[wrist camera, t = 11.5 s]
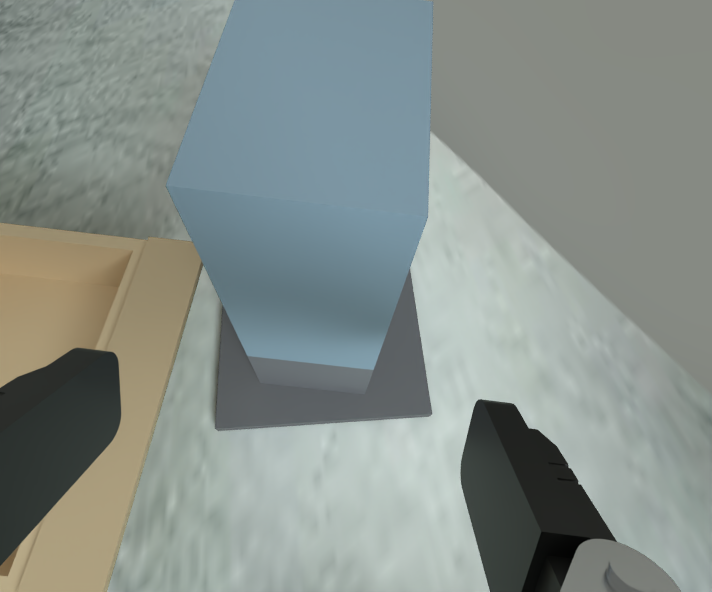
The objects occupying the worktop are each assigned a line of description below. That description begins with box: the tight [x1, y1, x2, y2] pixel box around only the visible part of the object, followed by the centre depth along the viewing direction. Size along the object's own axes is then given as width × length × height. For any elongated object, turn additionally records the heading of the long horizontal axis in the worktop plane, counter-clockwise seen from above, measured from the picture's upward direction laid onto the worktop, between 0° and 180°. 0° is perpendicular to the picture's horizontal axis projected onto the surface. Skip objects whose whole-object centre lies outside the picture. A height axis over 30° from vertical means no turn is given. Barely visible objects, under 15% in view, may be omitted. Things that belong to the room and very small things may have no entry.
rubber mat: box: [215, 269, 432, 431], centre depth 23 cm, size 10×10×1 cm
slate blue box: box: [166, 0, 433, 395], centre depth 16 cm, size 5×7×14 cm
